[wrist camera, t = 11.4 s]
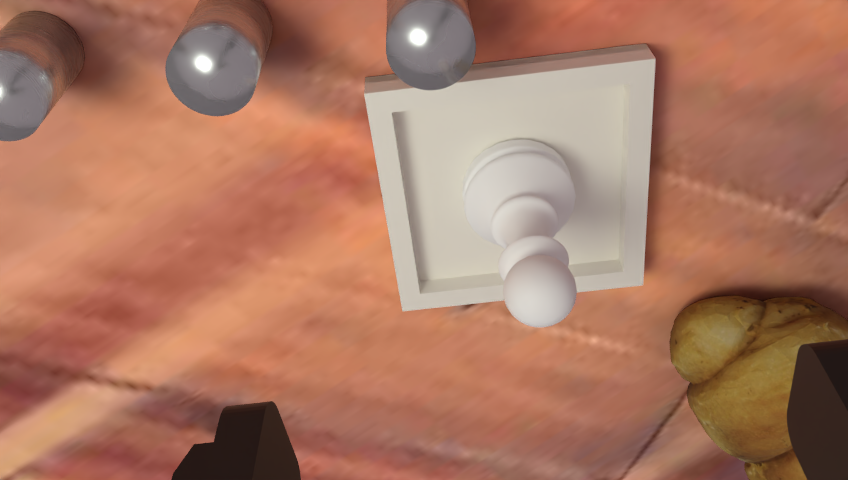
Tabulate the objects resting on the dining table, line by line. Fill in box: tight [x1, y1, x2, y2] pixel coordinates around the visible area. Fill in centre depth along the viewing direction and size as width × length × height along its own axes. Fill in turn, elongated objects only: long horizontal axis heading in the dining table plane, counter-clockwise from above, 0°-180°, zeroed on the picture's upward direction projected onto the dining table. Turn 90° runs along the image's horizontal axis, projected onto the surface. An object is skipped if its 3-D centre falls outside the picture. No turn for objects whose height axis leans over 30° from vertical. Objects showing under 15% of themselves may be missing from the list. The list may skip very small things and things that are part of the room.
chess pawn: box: [462, 139, 577, 327], centre depth 34 cm, size 5×5×9 cm
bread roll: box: [670, 295, 848, 480], centre depth 41 cm, size 13×10×8 cm
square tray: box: [364, 43, 656, 311], centre depth 37 cm, size 12×12×2 cm
